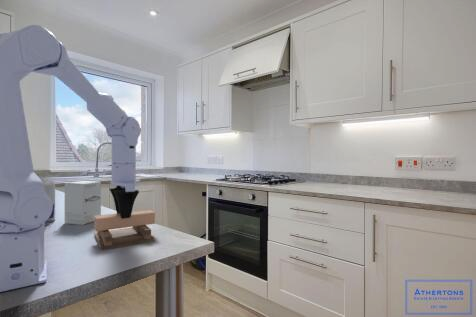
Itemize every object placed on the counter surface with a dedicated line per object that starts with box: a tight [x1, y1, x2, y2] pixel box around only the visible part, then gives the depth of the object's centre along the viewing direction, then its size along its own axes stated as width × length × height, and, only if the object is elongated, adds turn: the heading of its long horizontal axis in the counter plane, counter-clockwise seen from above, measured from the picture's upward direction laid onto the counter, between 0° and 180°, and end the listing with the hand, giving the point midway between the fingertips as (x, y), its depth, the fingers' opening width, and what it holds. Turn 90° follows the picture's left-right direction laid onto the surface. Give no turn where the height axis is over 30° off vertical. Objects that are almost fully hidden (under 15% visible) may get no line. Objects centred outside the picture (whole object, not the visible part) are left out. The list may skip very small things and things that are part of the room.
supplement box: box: [64, 180, 102, 226], centre depth 84 cm, size 7×7×13 cm
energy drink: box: [43, 182, 56, 224], centre depth 83 cm, size 5×5×12 cm
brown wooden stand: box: [93, 225, 155, 251], centre depth 69 cm, size 12×12×3 cm
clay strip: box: [93, 209, 156, 232], centre depth 69 cm, size 14×4×3 cm, turn 125°
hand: (123, 216), depth 69 cm, fingers closed on clay strip, 4 cm apart
